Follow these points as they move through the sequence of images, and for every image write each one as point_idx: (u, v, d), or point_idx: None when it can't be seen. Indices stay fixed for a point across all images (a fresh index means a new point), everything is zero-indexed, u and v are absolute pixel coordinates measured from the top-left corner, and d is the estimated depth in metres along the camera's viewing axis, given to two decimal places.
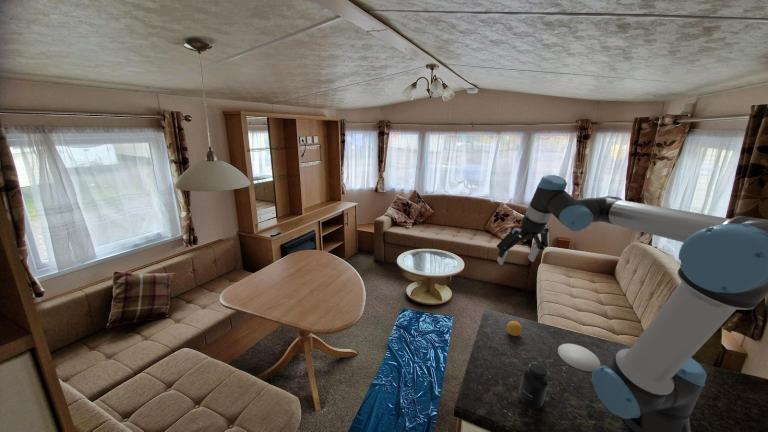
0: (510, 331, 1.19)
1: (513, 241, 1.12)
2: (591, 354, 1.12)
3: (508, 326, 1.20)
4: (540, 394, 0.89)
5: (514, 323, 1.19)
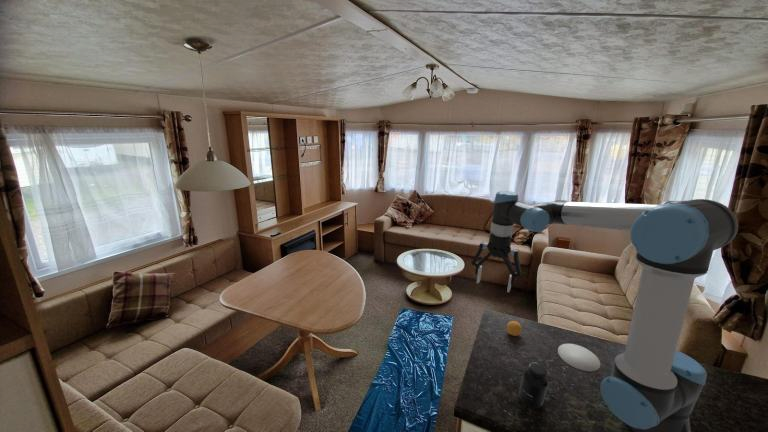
0: (510, 331, 1.19)
1: (483, 257, 1.19)
2: (591, 354, 1.12)
3: (508, 326, 1.20)
4: (540, 394, 0.89)
5: (514, 323, 1.19)
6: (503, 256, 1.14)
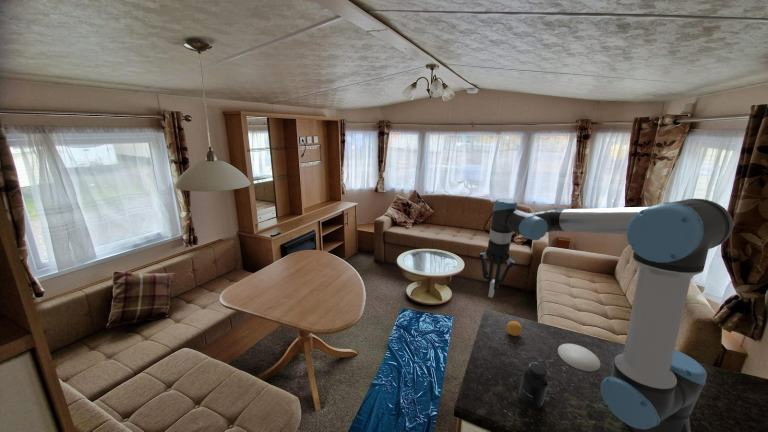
0: (510, 331, 1.19)
1: (489, 268, 1.19)
2: (591, 354, 1.12)
3: (508, 326, 1.20)
4: (540, 394, 0.89)
5: (514, 323, 1.19)
6: (499, 263, 1.15)
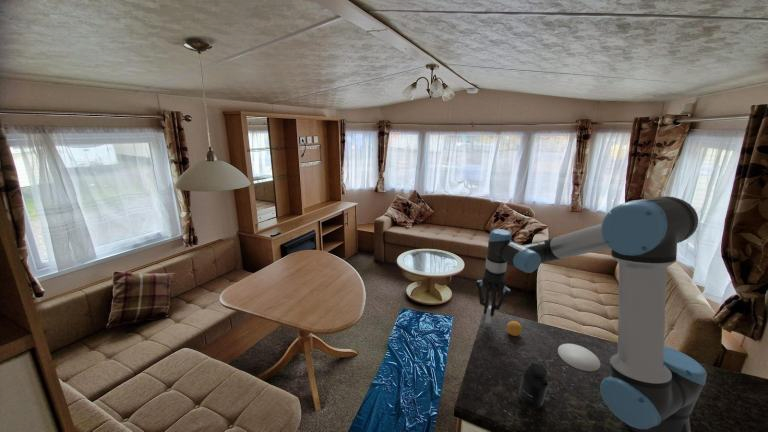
0: (510, 331, 1.19)
1: (486, 295, 1.23)
2: (591, 354, 1.12)
3: (508, 326, 1.20)
4: (540, 394, 0.89)
5: (514, 323, 1.19)
6: (495, 291, 1.19)
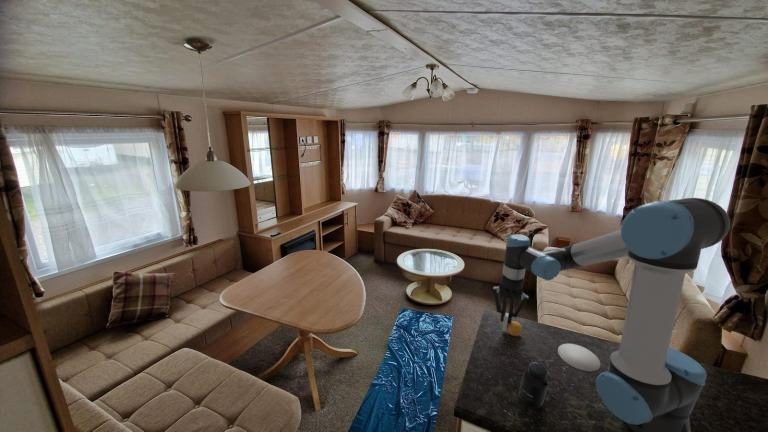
0: (510, 331, 1.19)
1: (503, 302, 1.19)
2: (591, 354, 1.12)
3: (508, 326, 1.20)
4: (540, 394, 0.89)
5: (515, 323, 1.19)
6: (512, 298, 1.16)
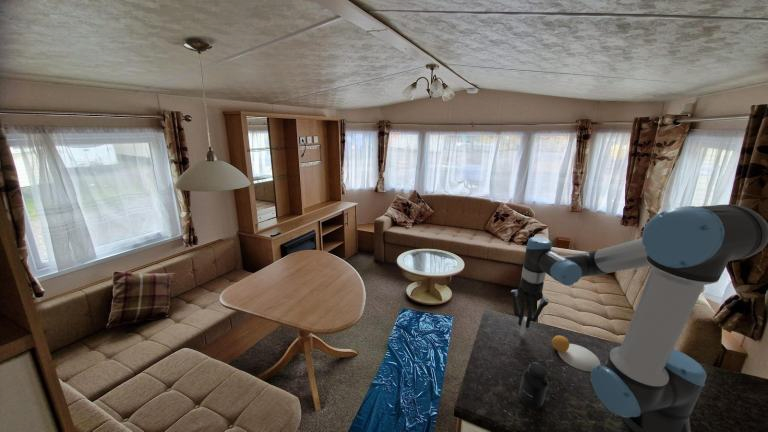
0: (558, 349, 1.12)
1: (521, 306, 1.16)
2: (591, 354, 1.12)
3: (553, 346, 1.13)
4: (540, 394, 0.89)
5: (553, 339, 1.13)
6: (531, 302, 1.13)
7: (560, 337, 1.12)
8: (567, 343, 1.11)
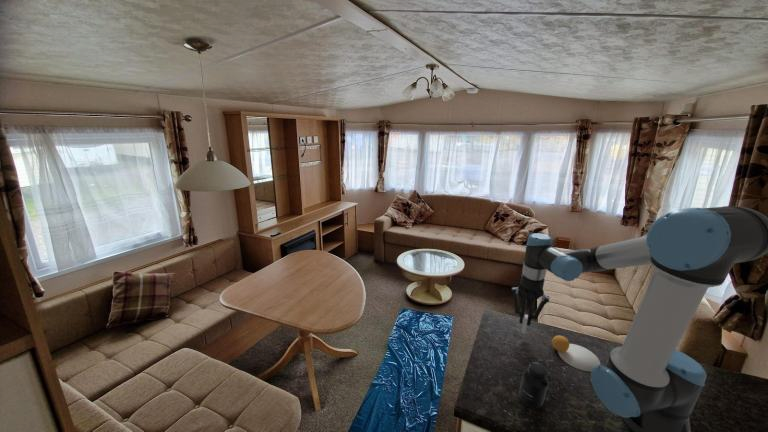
0: (558, 349, 1.12)
1: None
2: (591, 354, 1.12)
3: (553, 346, 1.13)
4: (540, 394, 0.89)
5: (553, 339, 1.13)
6: (532, 299, 1.12)
7: (560, 337, 1.12)
8: (567, 343, 1.11)
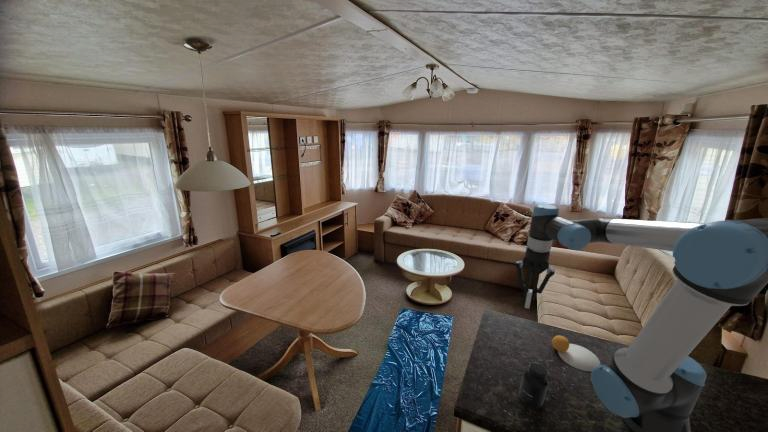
0: (558, 349, 1.12)
1: None
2: (591, 354, 1.12)
3: (553, 346, 1.13)
4: (540, 394, 0.89)
5: (553, 339, 1.13)
6: (537, 272, 1.09)
7: (560, 337, 1.12)
8: (567, 343, 1.11)
